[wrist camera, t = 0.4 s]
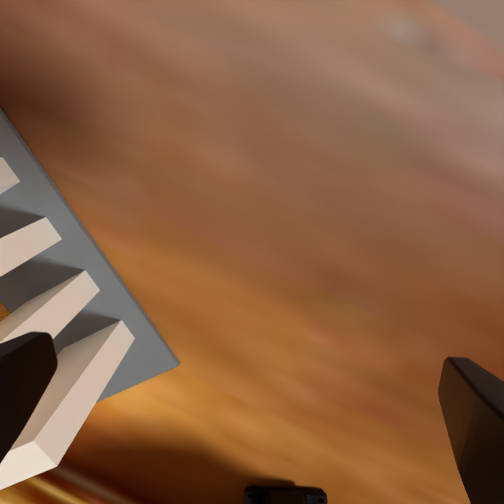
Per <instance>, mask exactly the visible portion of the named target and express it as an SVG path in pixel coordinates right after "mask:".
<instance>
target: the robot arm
mask: <svg viewBox="0 0 504 504" xmlns="http://www.w3.org/2000/svg"><path fill="white" fill-rule="evenodd" d="M57 366H58V359H57V355H56V351H55V347H54V343H53V339H52V336H51V335H50V334H49V333H48V332H36V331H33V332H29V333H26V334H24V335H21V336H18V337H16V338H13V339H11V340H8V341H6V342H3V343H0V464H1V462H2V461H3V459H4V458H5V456H6V455H7V453H8V452H9V450H10V449H11V447H12V446H13V444H14V443H15V441H16V440H17V439H18V437H19V435H20V434H21V432H22V431H23V429H24V428H25V426H26V424H27V422H28V421H29V419H30V417H31V415H32V414H33V412H34V410H35V408H36V406H37V405H38V403H39V401H40V399H41V397H42V396H43V394H44V392H45V390H46V388H47V387H48V385H49V383H50V381H51V379H52V378H53V376H54V374H55V372H56V370H57ZM438 395H439V401H440V405H441V408H442V412H443V416H444V420H445V423H446V427H447V431H448V435H449V438H450V442H451V446H452V450H453V453H454V457H455V461H456V464H457V468H458V471H459V473H460V476H461V479H462V482H463V484H464V487H465V490H466V492H467V495H468V497H469V500H470V503H471V504H504V381H502V380H501V379H499V378H498V377H496V376H495V375H493V374H491V373H490V372H488V371H487V370H485V369H484V368H482V367H481V366H479V365H478V364H476V363H475V362H473V361H471V360H470V359H468V358H464V357H447V358H446V359H445V360H444V363H443V368H442V373H441V378H440V383H439V388H438ZM244 504H327V494H326V493H325V492H323V491H311V490H296V489H281V488H266V487H247V488H246V489H245V495H244Z"/></svg>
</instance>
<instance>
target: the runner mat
mask: <svg viewBox="0 0 504 504" xmlns="http://www.w3.org/2000/svg"><path fill="white" fill-rule="evenodd" d="M0 157H3V158H4V160H5V161H6V163H7V164H8V165H9V167H10V168H11V169H12V171H13V172H14V173H15V175H16V176H17V178H18V179H19V180H20V182H19V183H17V184H16V185H14V186H12V187H11V188H9V189H8V190H6V191H5V192H3V193H1V194H0V238H2V237H4V236H6V235H9V234H11V233H13V232H15V231H17V230H19V229H21V228H24V227H26V226H28V225H30V224H32V223H34V222H36V221H39V220H41V219H43V218H45V217H46V218H47V219H48V220H49V222H50V223H51V225H52V226H53V227H54V229H55V230H56V231H57V233H58V234H59V235H60V237H61V238H62V240H60V241H58V242H57V243H55V244H54V245H52V246H50V247H49V248H47V249H45V250H44V251H42V252H40V253H39V254H37V255H35V256H34V257H32V258H30V259H29V260H27V261H26V262H24V263H22V264H21V265H19V266H17V267H16V268H14V269H12V270H11V271H9V272H7V273H6V274H4V275H3V276H1V277H0V301H1V302H2V304H3V305H4V306H5V307H6V308H7V310H8V311H9V312H10V313H12V312H14V311H15V310H16V309H18V308H19V307H20V306H22V305H23V304H24V303H25V302H27V301H29V300H31V299H33V298H34V297H36V296H38V295H40V294H42V293H44V292H46V291H47V290H49V289H51V288H53V287H55V286H57V285H59V284H60V283H62V282H64V281H66V280H68V279H70V278H71V277H73V276H75V275H77V274H79V273H81V272H83V271H84V270H86V272H87V273H88V274H89V276H90V277H91V278H92V280H93V281H94V283H95V284H96V285H97V287H98V288H99V289H100V291H99V292H98V293H97V294H96V295H95V296H94V297H93V298H92V299H91V300H90V301H89V302H88V303H87V304H86V305H85V306H84V308H83V309H82V310H81V311H80V312H79V313H78V314H77V315H76V316H75V317H74V318H73V319H72V320H71V321H70V322H69V323H68V324H67V325H66V326H65V327H64V328H63V329H62V330H61V331H60V332H59V333H58V334H57V335H56V336H55V338H54V339H53V343H54V347H55V351H56V355H58V354H59V353H60V352H61V350H62V349H63V348H65V347H67V346H69V345H71V344H73V343H75V342H77V341H79V340H81V339H83V338H86V337H88V336H90V335H92V334H94V333H96V332H98V331H100V330H102V329H104V328H106V327H108V326H110V325H112V324H114V323H116V322H118V321H120V320H122V321H123V323H124V324H125V325H126V327H127V328H128V329H129V331H130V332H131V334H132V335H133V336H134V338H135V339H134V341H133V342H132V344H131V346H130V347H129V349H128V351H127V352H126V354H125V356H124V357H123V359H122V360H121V362H120V364H119V365H118V367H117V369H116V370H115V372H114V374H113V375H112V377H111V379H110V380H109V382H108V383H107V385H106V387H105V388H104V390H103V392H102V393H101V395H100V397H99V398H98V400H97V401H96V402H99V401H101V400H103V399H105V398H108V397H110V396H112V395H114V394H117V393H119V392H121V391H123V390H126V389H128V388H130V387H132V386H135V385H137V384H139V383H141V382H144V381H146V380H148V379H150V378H153V377H155V376H157V375H159V374H162V373H164V372H166V371H168V370H171V369H173V368H175V367H177V366H179V364H180V362H179V360H178V359H177V357H176V356H175V355H174V353H173V352H172V350H171V349H170V347H169V346H168V345H167V343H166V342H165V340H164V339H163V338H162V336H161V335H160V333H159V332H158V330H157V329H156V328H155V326H154V325H153V323H152V322H151V321H150V319H149V318H148V316H147V315H146V313H145V312H144V311H143V309H142V308H141V306H140V305H139V303H138V302H137V301H136V299H135V298H134V296H133V295H132V294H131V292H130V291H129V289H128V288H127V286H126V285H125V284H124V282H123V281H122V279H121V278H120V277H119V275H118V274H117V272H116V271H115V269H114V268H113V267H112V265H111V264H110V262H109V261H108V260H107V258H106V257H105V255H104V254H103V252H102V251H101V250H100V248H99V247H98V245H97V244H96V242H95V241H94V240H93V238H92V237H91V235H90V234H89V233H88V231H87V230H86V228H85V227H84V225H83V224H82V223H81V221H80V220H79V218H78V217H77V216H76V214H75V213H74V211H73V210H72V208H71V207H70V206H69V204H68V203H67V201H66V200H65V198H64V197H63V196H62V194H61V193H60V191H59V190H58V189H57V187H56V186H55V184H54V183H53V181H52V180H51V179H50V177H49V176H48V174H47V173H46V172H45V170H44V169H43V167H42V166H41V164H40V163H39V162H38V160H37V159H36V157H35V156H34V155H33V153H32V152H31V150H30V149H29V147H28V146H27V145H26V143H25V142H24V140H23V139H22V137H21V136H20V135H19V133H18V132H17V130H16V129H15V128H14V126H13V125H12V123H11V122H10V120H9V119H8V118H7V116H6V115H5V113H4V112H3V111H2V109H1V108H0Z"/></svg>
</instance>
